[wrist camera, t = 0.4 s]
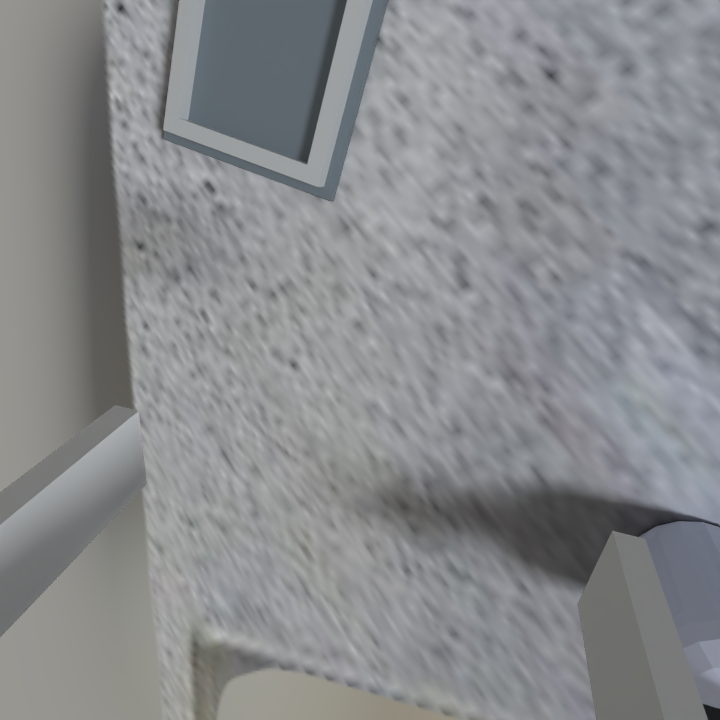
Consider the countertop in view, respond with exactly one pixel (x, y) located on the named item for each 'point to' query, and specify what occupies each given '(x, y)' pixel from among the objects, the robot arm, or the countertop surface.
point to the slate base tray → (272, 84)
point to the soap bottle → (692, 595)
